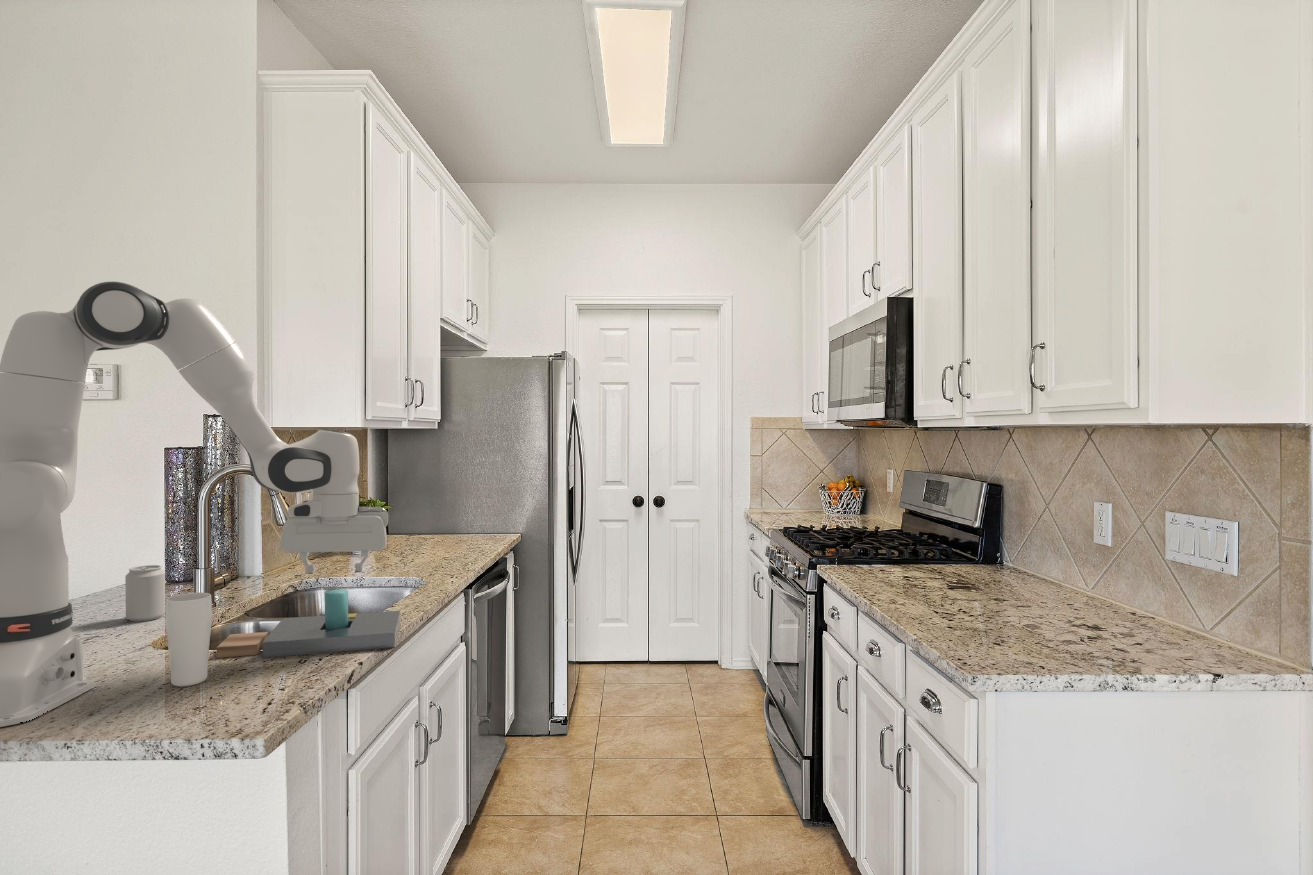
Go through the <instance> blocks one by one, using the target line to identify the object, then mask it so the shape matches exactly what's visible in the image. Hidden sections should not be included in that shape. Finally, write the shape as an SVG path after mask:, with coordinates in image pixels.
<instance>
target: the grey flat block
mask: <svg viewBox="0 0 1313 875" xmlns="http://www.w3.org/2000/svg"><path fill="white" fill-rule="evenodd" d="M400 627H401V610H390V611H376V612H373V611H372V612H359V613H358V612H354V613H348V628H341V629H327V630H325V615H314V616H313V615H312V616H301V617H284V618H282V619H281V620H279V622H278V623H277V625H276V626H275V627H274V628H273V630H272V631H271V632H270V633H268V637H267V638H266V639H265V640H264V641H263V642H262V644H263V648H262V658H263V659H267V658H277V657H280V658H281V657H289V656H292V657H293V656H303V655H306V656H307V655H315V654H316V655H318V654H328V653H341V652H353V651H356V652H357V651H365V650H366V651H367V650H369V651H370V650H378V649H379V650H380V649H393V648H396V644H397V639H398V635H399V634H398V633H399V631H400Z"/></svg>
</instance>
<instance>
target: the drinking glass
mask: <svg viewBox="0 0 1313 875" xmlns="http://www.w3.org/2000/svg"><path fill="white" fill-rule="evenodd" d="M164 614H165V630H166V638H167V647H168V649H167V650H168V655H169V656H168V657H169V665H170V666H169V667H170V683H171V685H173V686H175V687H180V688H181V687H192V686H196V685H198V684H202V683H203V682H205V681H206V680H207V678H208V675H209V674H208V667H209V666H208V665H209V653H210V640H211V633H212V631H211V630H212V620H213V602H212V594H211V593H208V592H188V593H181V594H176V595H172V596H170V597H167V598H165V613H164Z"/></svg>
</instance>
